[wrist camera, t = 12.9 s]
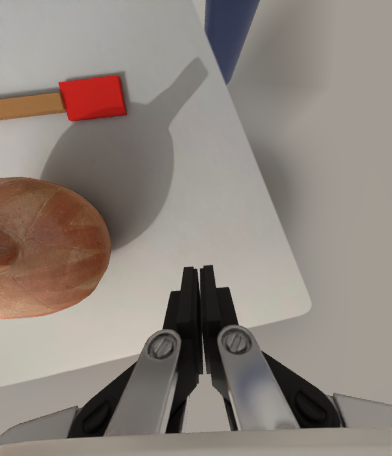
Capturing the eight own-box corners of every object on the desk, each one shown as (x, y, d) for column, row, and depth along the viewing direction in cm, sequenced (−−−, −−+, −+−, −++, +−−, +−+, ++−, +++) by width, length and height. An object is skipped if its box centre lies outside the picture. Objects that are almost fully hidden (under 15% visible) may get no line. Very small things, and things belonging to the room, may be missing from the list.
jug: (75, 294, 35) (-72, 443, 16) (-6, 221, 31) (-340, 305, 12) (147, 241, 32) (70, 350, 12) (68, 151, 27) (-235, 106, 8)
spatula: (-36, 97, 25) (-47, 93, 24) (120, 77, 24) (116, 73, 23) (-21, 132, 27) (-31, 130, 25) (127, 115, 26) (123, 112, 25)
